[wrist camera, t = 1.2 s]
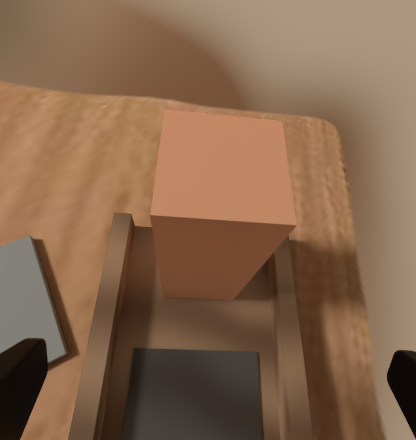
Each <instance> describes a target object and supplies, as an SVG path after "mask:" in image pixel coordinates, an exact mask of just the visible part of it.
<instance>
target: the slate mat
mask: <svg viewBox="0 0 416 440" xmlns="http://www.w3.org/2000/svg"><path fill="white" fill-rule="evenodd" d="M26 338H42V339H44V340H45V341H46V346H47V357H48V364H50V363H52V362H54V361H56V360H58V359H60V358H62V357H64V356H66V355H68V354H69V353H68V350H67V347H66V343H65V340H64V337H63V334H62V330H61V327H60V324H59V321H58V317H57V314H56V311H55V308H54V304H53V301H52V298H51V295H50V291H49V288H48V285H47V282H46V278H45V275H44V272H43V269H42V265H41V262H40V259H39V255H38V252H37V249H36V246H35V242H34V239H33V238H32V237H31V236H27V237H24V238H22V239H19V240H16V241H14V242H11V243H8V244H6V245H3V246H0V353H2V352H3V351H5V350H7V349H8V348H10V347H12V346H13V345H15V344H17V343H18V342H20V341H22V340H24V339H26Z"/></svg>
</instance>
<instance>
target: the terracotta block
mask: <svg viewBox="0 0 416 440" xmlns="http://www.w3.org/2000/svg"><path fill="white" fill-rule="evenodd" d="M150 217H151V224H152V230H153V237H154V243H155V250H156V256H157V263H158V269H159V276H160V282H161V289H162V295H163V297H173V298H194V299H216V300H234V298H235V297H236V296H237V295H238V294H239V293H240V291H241V290H242V289H243V288H244V287H245V286H246V284H247V283H248V282H249V281H250V280H251V278H252V277H253V276H254V275H255V274H256V273H257V271H258V270H259V269H260V268H261V267H262V266H263V264H264V263H265V262H266V261H267V260H268V258H269V257H270V256H271V255H272V254H273V253H274V251H275V250H276V249H277V248H278V247H279V246H280V244H281V243H282V242H283V241H284V240H285V238H286V237H287V236H288V235H289V234H290V233H291V231H292V230H293V229H294V228H295V227H296V226H297V224H296V216H295V209H294V202H293V195H292V188H291V181H290V174H289V167H288V160H287V152H286V145H285V138H284V131H283V124H282V121H276V120H266V119H256V118H246V117H236V116H226V115H216V114H206V113H196V112H186V111H177V110H167V109H164V116H163V124H162V131H161V139H160V146H159V153H158V161H157V168H156V176H155V183H154V191H153V198H152V205H151V213H150Z"/></svg>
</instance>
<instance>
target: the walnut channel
mask: <svg viewBox="0 0 416 440" xmlns="http://www.w3.org/2000/svg"><path fill="white" fill-rule="evenodd" d="M68 440H314V438H313V429H312V421H311V413H310V405H309V397H308V389H307V381H306V373H305V364H304V356H303V348H302V340H301V332H300V324H299V316H298V308H297V300H296V291H295V283H294V275H293V267H292V259H291V251H290V243H289V235H288V236H287V237H286V238H285V240H284V241H283V242H282V243H281V244H280V246H279V247H278V248H277V249H276V250H275V251H274V253H273V254H272V255H271V256H270V257H269V258H268V260H267V261H266V262H265V263H264V264H263V266H262V267H261V268H260V269H259V270H258V271H257V273H256V274H255V275H254V276H253V277H252V278H251V280H250V281H249V282H248V283H247V284H246V286H245V287H244V288H243V289H242V290H241V291H240V293H239V294H238V295H237V296H236V297H235V298H234V300H216V299H194V298H173V297H163V295H162V289H161V282H160V276H159V269H158V263H157V256H156V250H155V243H154V237H153V230H152V227H139V226H135V225H134V222H133V218H132V214H126V213H114V217H113V222H112V227H111V232H110V237H109V242H108V247H107V251H106V256H105V261H104V266H103V271H102V276H101V281H100V286H99V291H98V296H97V301H96V305H95V310H94V315H93V320H92V325H91V330H90V335H89V340H88V345H87V350H86V355H85V359H84V364H83V369H82V374H81V379H80V384H79V389H78V394H77V399H76V404H75V409H74V413H73V418H72V423H71V428H70V433H69V438H68Z"/></svg>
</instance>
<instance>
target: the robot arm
mask: <svg viewBox="0 0 416 440" xmlns="http://www.w3.org/2000/svg"><path fill="white" fill-rule="evenodd" d="M47 372H48V357H47V346H46V341H45V340H44V339H42V338H26V339H24V340H22V341H20V342H18V343H17V344H15V345H13V346H12V347H10V348H8V349H7V350H5V351H3V352H2V353H0V440H20V438H21V436H22V434H23V431H24V429H25V426H26V424H27V422H28V419H29V417H30V414H31V412H32V409H33V407H34V405H35V402H36V400H37V397H38V395H39V393H40V390H41V388H42V385H43V383H44V380H45V378H46V375H47ZM387 381H388V384H389V386H390V388H391V390H392V392H393V394H394V396H395V398H396V400H397V402H398V404H399V406H400V408H401V410H402V412H403V414H404V416H405V418H406V420H407V422H408V424H409V426H410V428H411V430H412V432H413V434H414V436H415V438H416V352H414V351H407V350H398V351H396V352H395V353H394V355H393V358H392V361H391V364H390V367H389V370H388V373H387Z"/></svg>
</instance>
